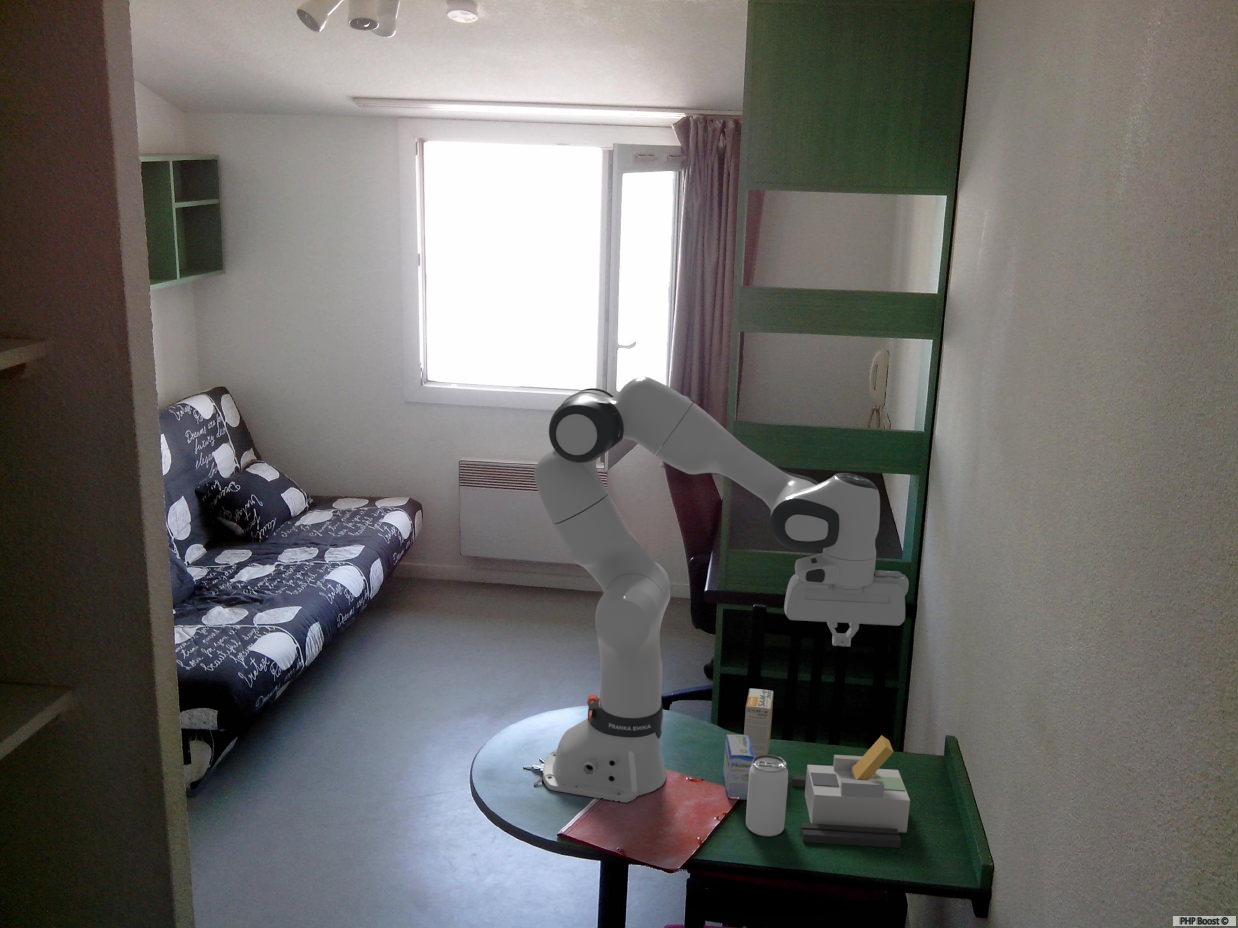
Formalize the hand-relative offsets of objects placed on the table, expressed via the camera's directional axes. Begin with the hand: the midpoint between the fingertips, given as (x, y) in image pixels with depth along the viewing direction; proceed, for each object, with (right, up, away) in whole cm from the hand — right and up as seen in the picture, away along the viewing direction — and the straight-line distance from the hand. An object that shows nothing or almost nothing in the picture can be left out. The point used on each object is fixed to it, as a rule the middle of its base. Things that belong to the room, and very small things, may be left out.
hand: (841, 644), depth 181 cm
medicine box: (-17, -28, +9) cm, 33 cm away
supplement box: (-12, -25, +18) cm, 34 cm away
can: (-14, -30, -3) cm, 34 cm away
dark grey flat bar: (0, -31, -5) cm, 31 cm away
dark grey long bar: (+1, -28, +10) cm, 29 cm away
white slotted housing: (+3, -30, +2) cm, 30 cm away
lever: (+3, -23, 0) cm, 23 cm away
